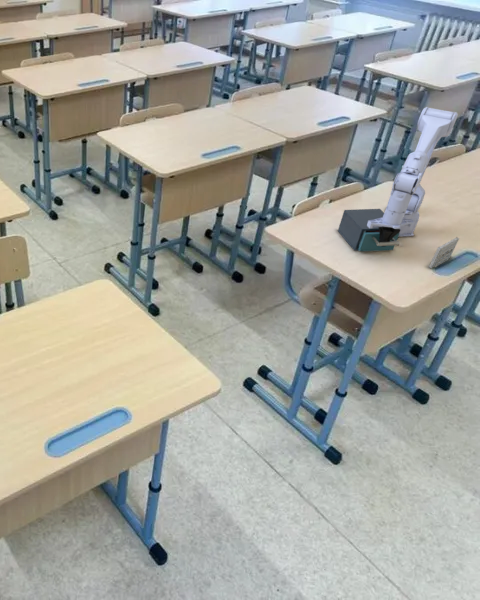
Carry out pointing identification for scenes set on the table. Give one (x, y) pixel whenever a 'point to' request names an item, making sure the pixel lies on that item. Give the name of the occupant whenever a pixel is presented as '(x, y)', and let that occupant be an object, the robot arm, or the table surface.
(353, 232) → the grey drawer cabinet
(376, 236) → the teal drawer
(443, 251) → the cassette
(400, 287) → the table surface
